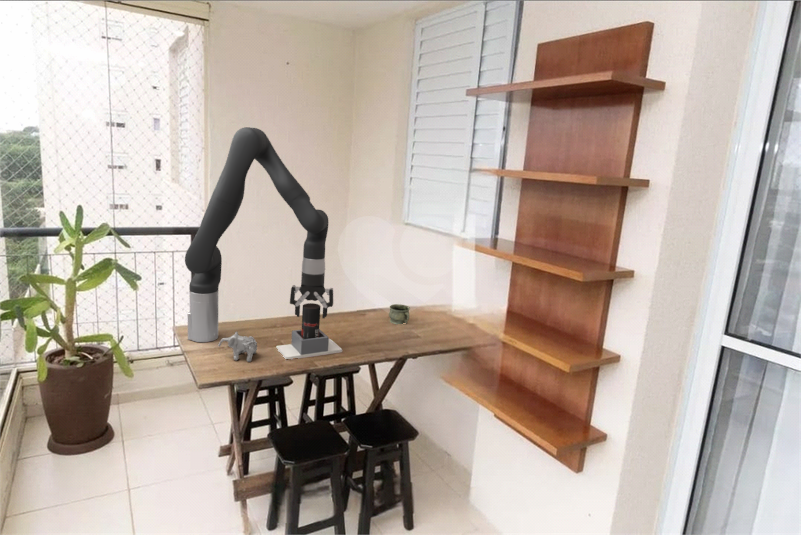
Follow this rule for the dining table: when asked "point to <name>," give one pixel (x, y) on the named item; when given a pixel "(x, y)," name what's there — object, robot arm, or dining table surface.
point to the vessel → (399, 314)
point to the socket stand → (308, 346)
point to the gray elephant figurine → (241, 345)
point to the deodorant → (310, 321)
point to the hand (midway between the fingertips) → (311, 316)
